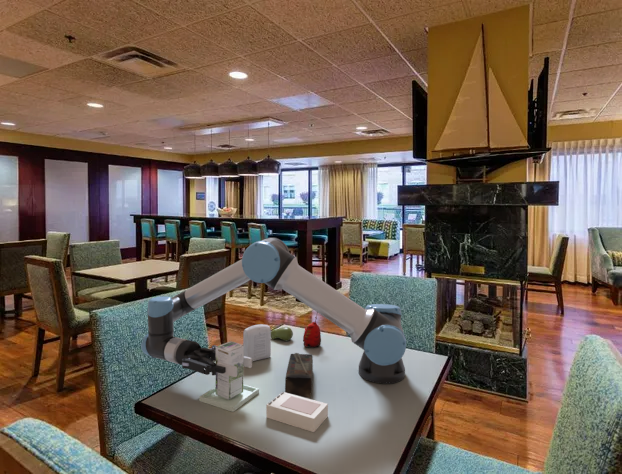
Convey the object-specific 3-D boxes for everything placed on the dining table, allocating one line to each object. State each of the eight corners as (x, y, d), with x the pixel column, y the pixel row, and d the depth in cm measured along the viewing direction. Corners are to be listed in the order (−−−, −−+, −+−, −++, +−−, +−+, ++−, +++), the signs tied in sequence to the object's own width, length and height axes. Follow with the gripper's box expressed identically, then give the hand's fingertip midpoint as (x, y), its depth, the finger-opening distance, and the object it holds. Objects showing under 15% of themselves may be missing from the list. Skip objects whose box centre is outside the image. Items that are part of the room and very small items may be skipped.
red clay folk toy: (305, 341, 158) (305, 305, 157) (322, 342, 157) (323, 306, 156) (301, 348, 151) (301, 310, 150) (319, 349, 150) (319, 311, 148)
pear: (287, 329, 156) (266, 330, 160) (289, 342, 156) (268, 342, 160) (294, 325, 161) (273, 326, 165) (296, 337, 161) (275, 338, 165)
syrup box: (230, 387, 117) (229, 340, 115) (244, 392, 113) (243, 344, 112) (215, 394, 112) (214, 345, 111) (229, 400, 109) (228, 350, 107)
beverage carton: (313, 370, 131) (313, 351, 131) (311, 399, 112) (312, 377, 112) (289, 370, 132) (289, 351, 131) (284, 398, 112) (284, 376, 112)
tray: (199, 401, 110) (199, 396, 110) (227, 383, 121) (227, 379, 121) (233, 411, 105) (233, 407, 105) (259, 392, 115) (259, 388, 115)
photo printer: (267, 353, 145) (267, 321, 144) (272, 357, 142) (272, 324, 141) (241, 359, 140) (241, 326, 138) (246, 363, 136) (246, 329, 135)
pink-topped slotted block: (266, 417, 102) (266, 403, 102) (282, 403, 109) (282, 390, 109) (313, 432, 96) (313, 417, 95) (327, 416, 103) (327, 402, 102)
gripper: (205, 353, 129) (263, 367, 118) (158, 375, 112) (221, 394, 101) (205, 331, 128) (263, 343, 118) (158, 350, 111) (220, 366, 101)
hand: (243, 367), depth 110 cm, fingers closed on syrup box, 6 cm apart
